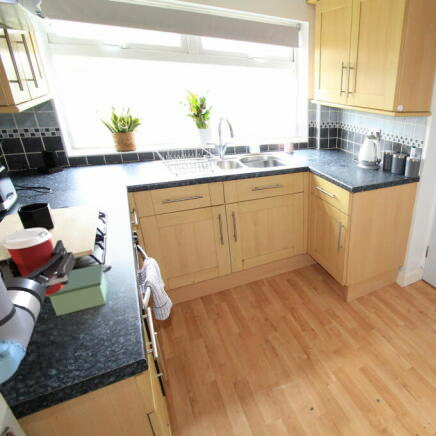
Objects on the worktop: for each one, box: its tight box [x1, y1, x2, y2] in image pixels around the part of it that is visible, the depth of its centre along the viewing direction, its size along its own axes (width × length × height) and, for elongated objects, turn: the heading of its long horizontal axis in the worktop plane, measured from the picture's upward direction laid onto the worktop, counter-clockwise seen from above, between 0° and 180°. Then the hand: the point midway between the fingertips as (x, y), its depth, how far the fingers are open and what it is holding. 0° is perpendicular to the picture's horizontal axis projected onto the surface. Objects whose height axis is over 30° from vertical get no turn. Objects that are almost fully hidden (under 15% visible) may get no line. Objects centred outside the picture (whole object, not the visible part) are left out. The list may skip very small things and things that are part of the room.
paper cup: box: [3, 227, 64, 297], centre depth 70 cm, size 8×8×14 cm
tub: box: [45, 263, 108, 317], centre depth 92 cm, size 12×11×8 cm
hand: (41, 248), depth 73 cm, fingers closed on paper cup, 6 cm apart
